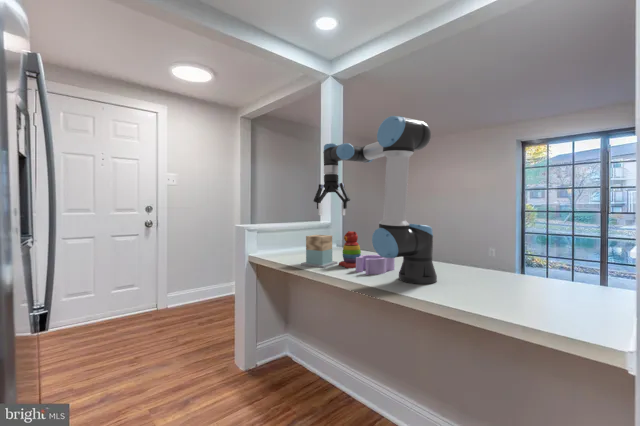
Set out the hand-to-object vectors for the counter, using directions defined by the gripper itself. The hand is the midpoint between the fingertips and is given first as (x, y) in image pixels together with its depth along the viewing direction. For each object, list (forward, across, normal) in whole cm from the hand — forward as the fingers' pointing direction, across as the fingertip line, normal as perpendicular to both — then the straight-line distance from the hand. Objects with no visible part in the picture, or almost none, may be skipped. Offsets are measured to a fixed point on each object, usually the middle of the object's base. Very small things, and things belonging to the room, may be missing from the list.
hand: (331, 215), depth 163 cm
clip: (+27, -24, +1) cm, 36 cm away
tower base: (+26, +7, +1) cm, 27 cm away
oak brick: (+18, +7, +1) cm, 19 cm away
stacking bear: (+26, -9, -4) cm, 28 cm away
